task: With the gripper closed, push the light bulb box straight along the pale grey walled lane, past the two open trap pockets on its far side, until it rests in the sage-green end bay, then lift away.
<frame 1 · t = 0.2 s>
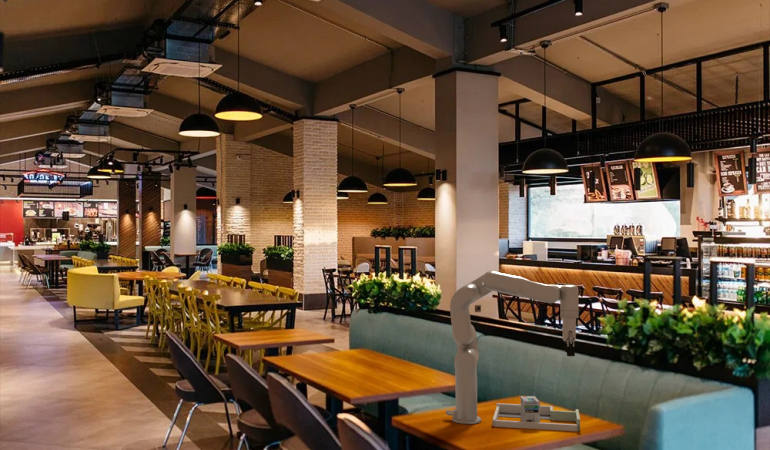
hand: (569, 354, 291), 31 cm above the table, tool pointing down, fingers open, 9 cm apart
light bulb box: (530, 423, 296), resting in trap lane
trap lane: (536, 423, 296), on the table
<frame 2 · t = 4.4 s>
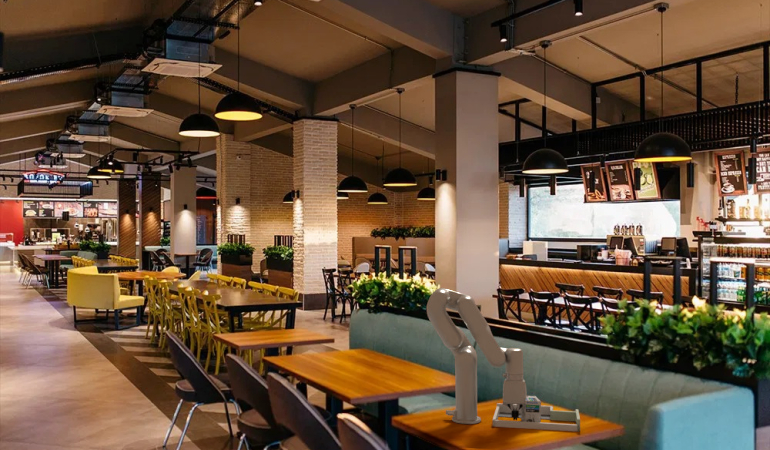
hand: (515, 419, 298), 1 cm above the table, tool pointing down, fingers closed
nothing on the table moved.
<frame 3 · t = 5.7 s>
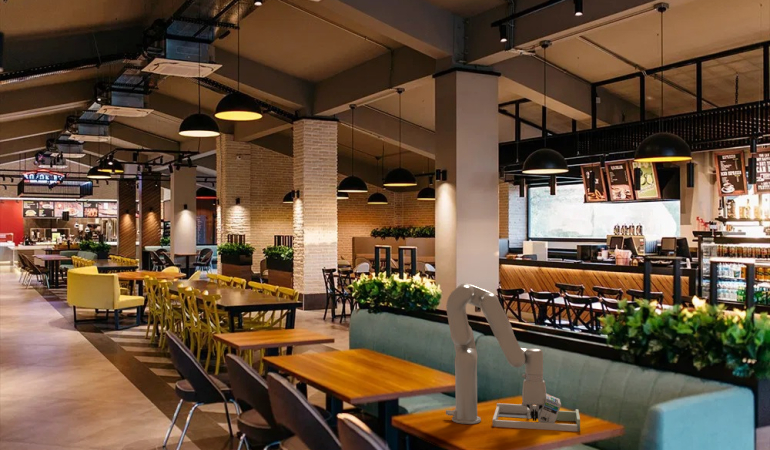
hand: (534, 419, 296), 2 cm above the table, tool pointing down, fingers closed
light bulb box: (544, 422, 295), point 1 cm above the table, touching gripper
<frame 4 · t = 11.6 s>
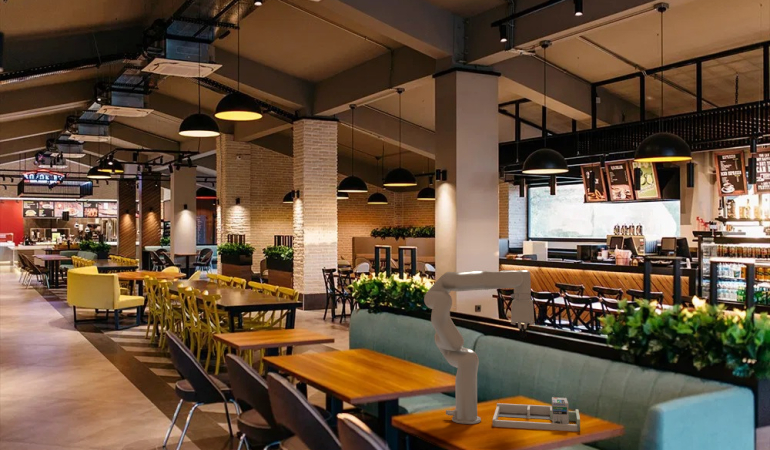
hand: (522, 337, 313), 35 cm above the table, tool pointing down, fingers closed
light bulb box: (560, 425, 294), resting in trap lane
at the end: light bulb box inside the target area (2.9 cm from its centre), resting in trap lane; light bulb box tilted 0°; the gripper is holding nothing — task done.
